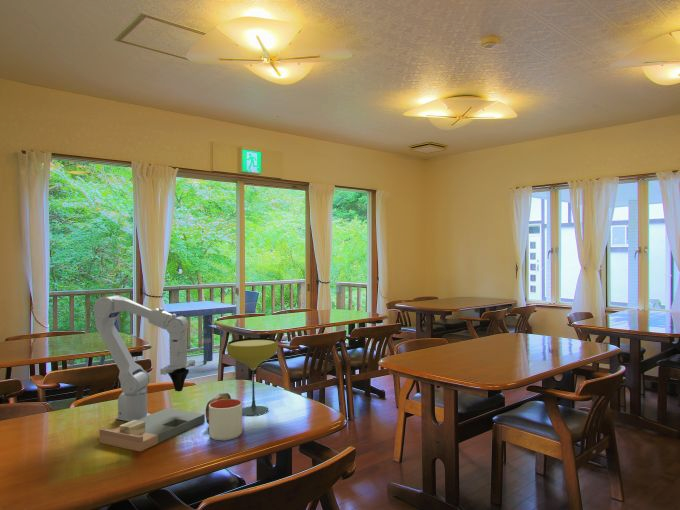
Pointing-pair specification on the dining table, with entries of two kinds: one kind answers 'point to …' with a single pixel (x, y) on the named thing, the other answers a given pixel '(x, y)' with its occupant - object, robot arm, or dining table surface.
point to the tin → (218, 397)
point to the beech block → (133, 427)
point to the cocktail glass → (252, 361)
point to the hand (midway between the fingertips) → (178, 390)
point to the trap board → (153, 429)
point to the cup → (225, 419)
